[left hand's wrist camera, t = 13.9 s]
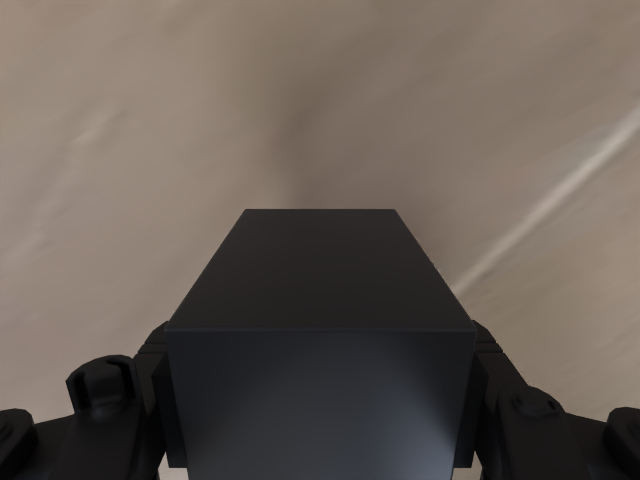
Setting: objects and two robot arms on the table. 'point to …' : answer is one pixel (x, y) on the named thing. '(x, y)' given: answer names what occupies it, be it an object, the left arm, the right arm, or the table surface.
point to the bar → (320, 353)
